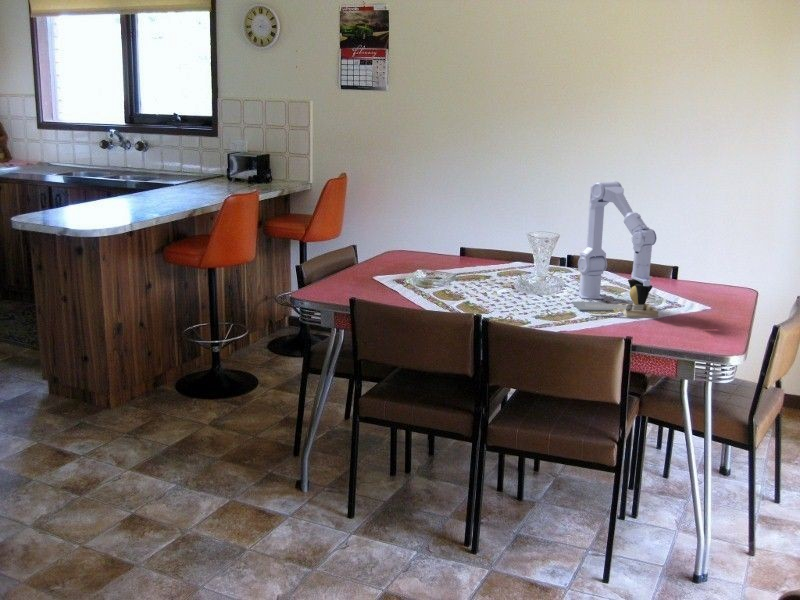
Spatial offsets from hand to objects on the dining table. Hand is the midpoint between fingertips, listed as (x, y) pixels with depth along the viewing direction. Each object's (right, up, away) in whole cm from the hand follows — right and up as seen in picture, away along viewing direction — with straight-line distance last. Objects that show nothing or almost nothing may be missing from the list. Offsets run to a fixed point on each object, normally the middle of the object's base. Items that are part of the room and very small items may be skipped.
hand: (638, 302), depth 297 cm
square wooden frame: (0, -4, +1) cm, 4 cm away
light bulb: (0, -4, +1) cm, 4 cm away
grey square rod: (-12, -2, -4) cm, 12 cm away
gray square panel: (-14, -2, +8) cm, 17 cm away
